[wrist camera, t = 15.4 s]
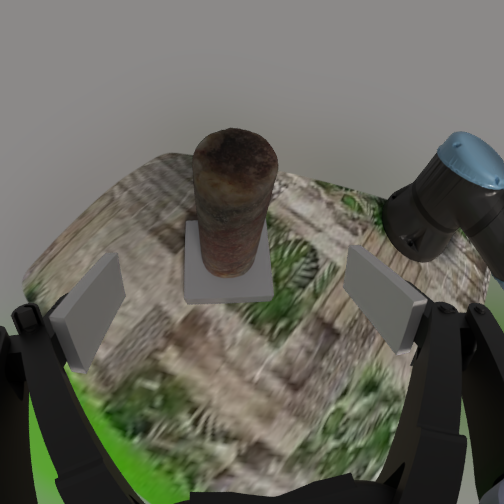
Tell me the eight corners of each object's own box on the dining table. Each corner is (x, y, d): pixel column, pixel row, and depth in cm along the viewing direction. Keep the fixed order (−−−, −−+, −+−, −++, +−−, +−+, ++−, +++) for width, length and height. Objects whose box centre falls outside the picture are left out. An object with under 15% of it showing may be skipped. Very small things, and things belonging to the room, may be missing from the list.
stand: (263, 228, 46) (265, 218, 43) (270, 301, 41) (273, 295, 38) (188, 230, 44) (186, 220, 42) (187, 304, 39) (184, 299, 37)
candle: (254, 232, 42) (274, 127, 23) (258, 280, 39) (286, 191, 20) (202, 234, 41) (188, 128, 23) (202, 282, 38) (181, 193, 20)
